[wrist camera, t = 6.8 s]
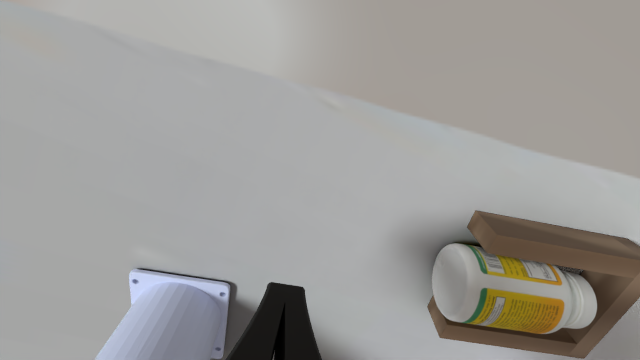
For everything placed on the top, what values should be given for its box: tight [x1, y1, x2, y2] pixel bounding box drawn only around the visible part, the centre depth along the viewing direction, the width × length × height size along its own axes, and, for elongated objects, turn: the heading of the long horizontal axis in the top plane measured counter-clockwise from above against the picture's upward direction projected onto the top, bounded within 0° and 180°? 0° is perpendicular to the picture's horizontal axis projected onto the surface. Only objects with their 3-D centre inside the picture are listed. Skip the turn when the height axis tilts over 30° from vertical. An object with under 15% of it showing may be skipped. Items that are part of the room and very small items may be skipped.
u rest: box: [427, 211, 640, 359], centre depth 23 cm, size 10×12×3 cm
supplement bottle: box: [432, 243, 597, 334], centre depth 22 cm, size 5×5×10 cm
